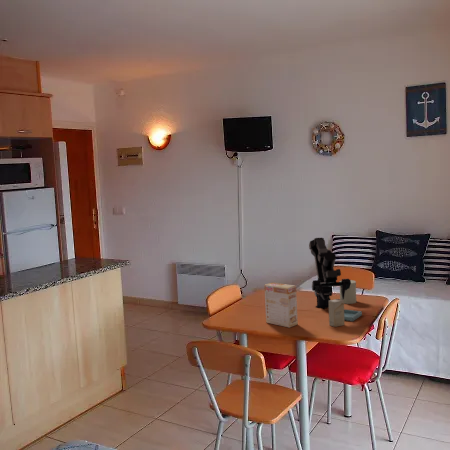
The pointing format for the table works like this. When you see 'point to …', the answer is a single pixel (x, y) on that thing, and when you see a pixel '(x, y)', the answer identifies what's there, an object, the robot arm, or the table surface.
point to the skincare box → (336, 312)
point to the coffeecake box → (281, 304)
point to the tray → (351, 315)
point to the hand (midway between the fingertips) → (333, 299)
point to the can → (349, 293)
